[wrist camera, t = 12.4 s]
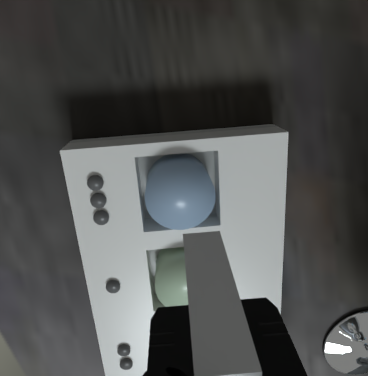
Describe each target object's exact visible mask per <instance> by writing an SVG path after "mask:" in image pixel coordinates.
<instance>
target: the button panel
mask: <svg viewBox="0 0 368 376" xmlns="http://www.w3.org/2000/svg"><path fill="white" fill-rule="evenodd" d="M181 153H186V154H190V155H192V156H194V157H196V158H197V159H199V160H200V161H201V162H202V163H203V165H204V166H205V168H206V169H207V172H208V174H209V176H210V178H211V181H212V183H213V185H214V189H215V195H216V196H215V204H214V207H213V210H212V212H211V213H210V215H209V216H208V217H207V218H206V219H205V220H204V221H203V222H202V223H200V224H199V225H197V226H195V227H193V228H189V229H184V230H174V229H169V228H166V227H164V226H162V225H160V224H159V223H157V222H156V221H155V220H154V219H153V218H152V217H151V216H150V214H149V212H148V210H147V208H146V204H145V190H146V181H147V176H148V173H149V170H150V168H151V167H152V165H153V164H154V163H155V162H156V161H157V160H158V159H160V158H161V157H163V156H165V155H169V154H181ZM60 154H61V159H62V164H63V169H64V174H65V178H66V183H67V188H68V193H69V198H70V203H71V208H72V213H73V218H74V223H75V228H76V233H77V238H78V243H79V248H80V252H81V257H82V262H83V267H84V272H85V277H86V282H87V287H88V292H89V297H90V302H91V307H92V312H93V317H94V322H95V326H96V331H97V336H98V341H99V346H100V351H101V356H102V361H103V366H104V371H105V376H142V375H143V374H144V373H145V372H146V371H147V363H148V349H149V336H150V321H151V318H152V316H153V315H154V313H155V311H156V310H157V308H158V307H166V306H165V305H163V304H162V303H161V302H160V300H159V299H158V297H157V294H156V291H155V273H156V259H157V256H158V254H159V252H160V250H161V249H167V248H178V247H184V242H183V234H188V233H200V232H213V231H220V233H221V237H222V240H223V243H224V247H225V250H226V253H227V257H228V260H229V263H230V267H231V270H232V273H233V277H234V280H235V283H236V287H237V290H238V293H239V296H240V300H241V299H253V298H265V297H266V298H267V299H268V300H269V301H271V302H272V303H273V304H274V305H275V306H276V307H277V308H278V310H279V313H280V315H281V294H282V271H283V247H284V224H285V201H286V177H287V154H288V132H287V131H285V130H284V129H282V128H280V127H278V126H276V125H274V124H267V125H254V126H242V127H229V128H217V129H204V130H191V131H179V132H166V133H154V134H141V135H129V136H116V137H103V138H91V139H78V140H72V141H70V142H69V143H68V144H67V145H66V146H65V147H63V148H62V149H61V150H60Z"/></svg>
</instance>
